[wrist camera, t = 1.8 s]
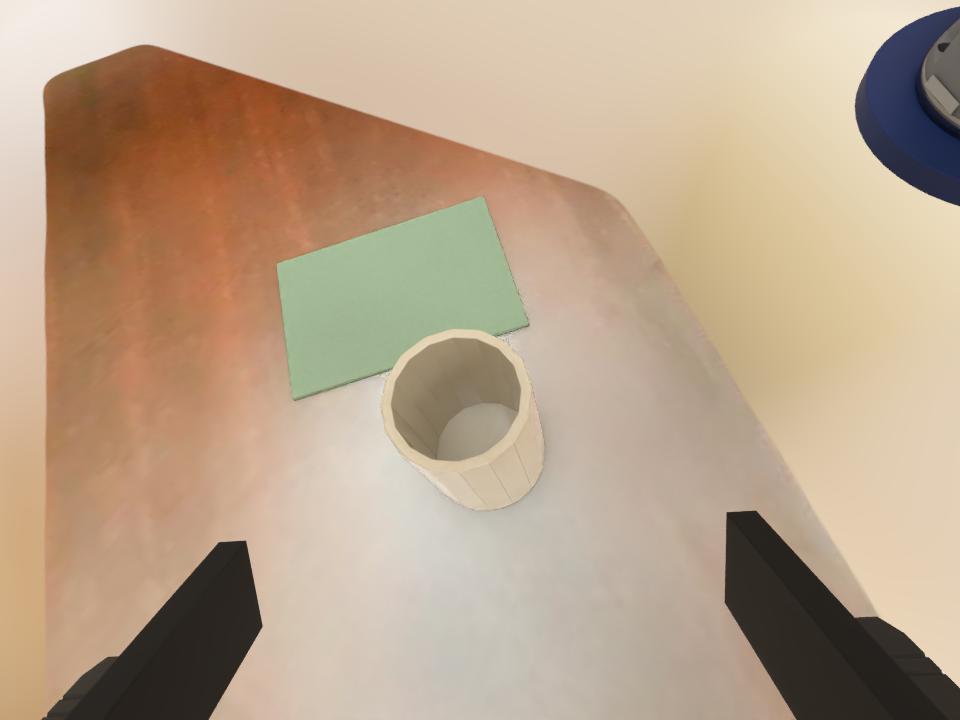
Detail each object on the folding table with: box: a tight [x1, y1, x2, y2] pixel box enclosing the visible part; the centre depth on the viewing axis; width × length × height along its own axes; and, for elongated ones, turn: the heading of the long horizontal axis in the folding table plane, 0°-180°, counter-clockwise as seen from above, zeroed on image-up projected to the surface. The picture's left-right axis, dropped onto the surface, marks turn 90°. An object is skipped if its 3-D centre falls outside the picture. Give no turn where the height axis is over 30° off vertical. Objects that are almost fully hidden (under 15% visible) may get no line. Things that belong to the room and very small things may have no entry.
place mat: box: [276, 196, 529, 400], centre depth 48 cm, size 20×14×1 cm
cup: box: [381, 329, 545, 511], centre depth 36 cm, size 8×8×12 cm
